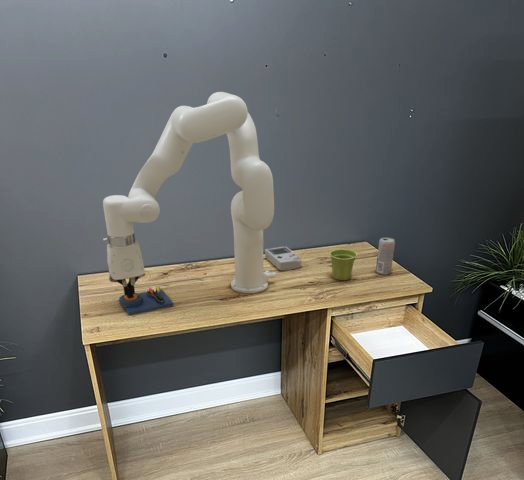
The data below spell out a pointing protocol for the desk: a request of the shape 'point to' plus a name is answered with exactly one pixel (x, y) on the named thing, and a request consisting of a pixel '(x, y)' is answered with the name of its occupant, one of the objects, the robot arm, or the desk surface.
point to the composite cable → (155, 294)
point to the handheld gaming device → (283, 258)
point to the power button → (130, 298)
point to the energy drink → (385, 256)
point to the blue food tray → (145, 303)
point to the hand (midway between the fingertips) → (130, 296)
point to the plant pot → (342, 263)
